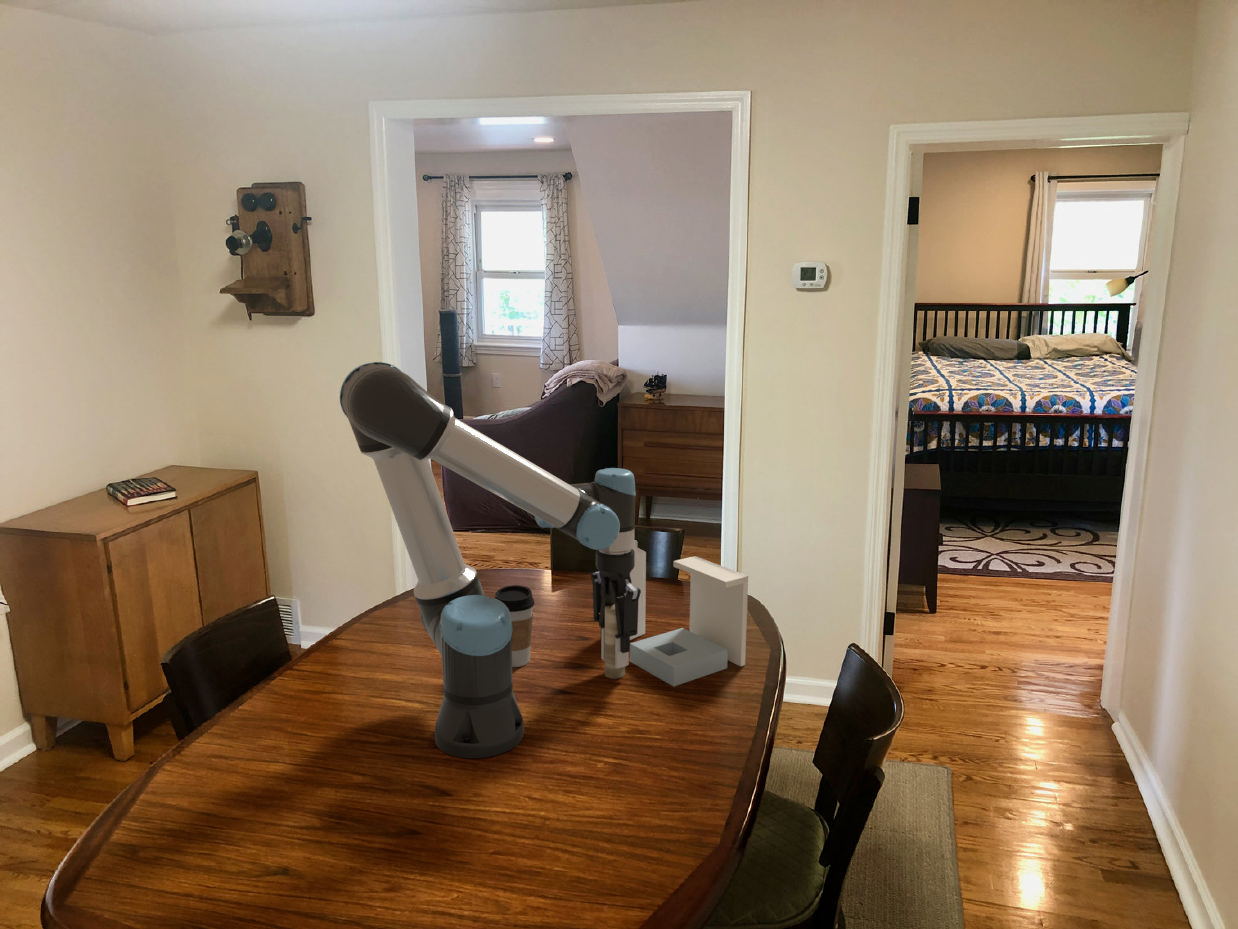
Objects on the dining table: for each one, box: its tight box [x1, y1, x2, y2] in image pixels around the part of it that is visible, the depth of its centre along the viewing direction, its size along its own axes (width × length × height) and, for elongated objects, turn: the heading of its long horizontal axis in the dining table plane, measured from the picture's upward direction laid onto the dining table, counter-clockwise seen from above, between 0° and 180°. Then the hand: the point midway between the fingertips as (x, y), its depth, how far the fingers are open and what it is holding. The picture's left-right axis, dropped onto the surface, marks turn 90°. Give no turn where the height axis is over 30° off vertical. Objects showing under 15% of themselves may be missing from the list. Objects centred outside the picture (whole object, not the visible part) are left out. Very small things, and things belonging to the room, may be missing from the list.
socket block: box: [629, 627, 729, 687], centre depth 181 cm, size 14×14×4 cm
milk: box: [617, 539, 647, 641], centre depth 194 cm, size 6×6×22 cm
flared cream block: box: [673, 555, 749, 667], centre depth 184 cm, size 6×16×19 cm, turn 36°
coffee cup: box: [494, 584, 535, 668], centre depth 181 cm, size 8×8×15 cm
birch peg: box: [604, 604, 626, 680], centre depth 175 cm, size 4×4×14 cm
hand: (614, 662), depth 176 cm, fingers closed on birch peg, 4 cm apart
